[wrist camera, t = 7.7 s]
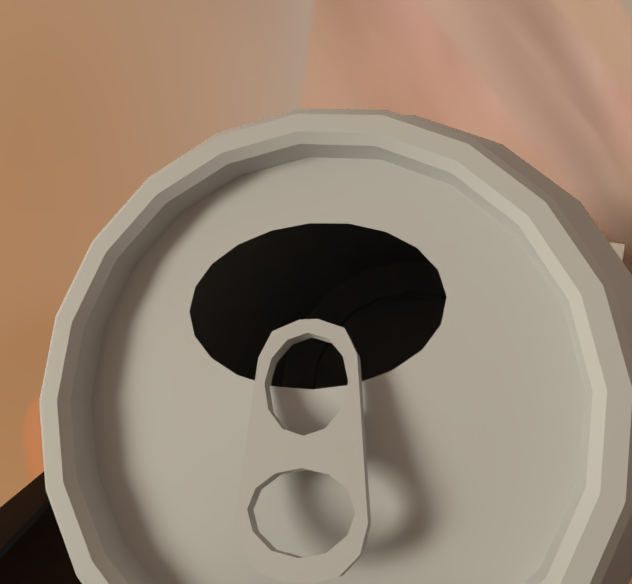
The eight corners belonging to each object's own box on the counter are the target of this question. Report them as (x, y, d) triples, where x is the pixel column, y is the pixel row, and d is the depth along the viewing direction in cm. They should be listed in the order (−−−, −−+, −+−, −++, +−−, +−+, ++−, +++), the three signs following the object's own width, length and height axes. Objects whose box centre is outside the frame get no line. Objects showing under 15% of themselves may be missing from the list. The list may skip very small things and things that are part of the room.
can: (540, 258, 17) (679, -23, 6) (563, 537, 16) (811, 927, 4) (288, 276, 19) (-1, 92, 7) (290, 526, 17) (-56, 778, 6)
